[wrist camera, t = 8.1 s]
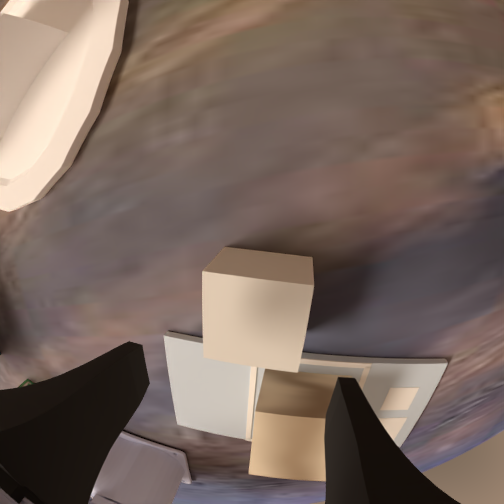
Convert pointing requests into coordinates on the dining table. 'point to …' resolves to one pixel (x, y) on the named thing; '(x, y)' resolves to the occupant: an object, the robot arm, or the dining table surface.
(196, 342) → the board
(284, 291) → the beige maple block
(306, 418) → the birch block
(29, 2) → the white wedge on plate
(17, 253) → the dining table surface
